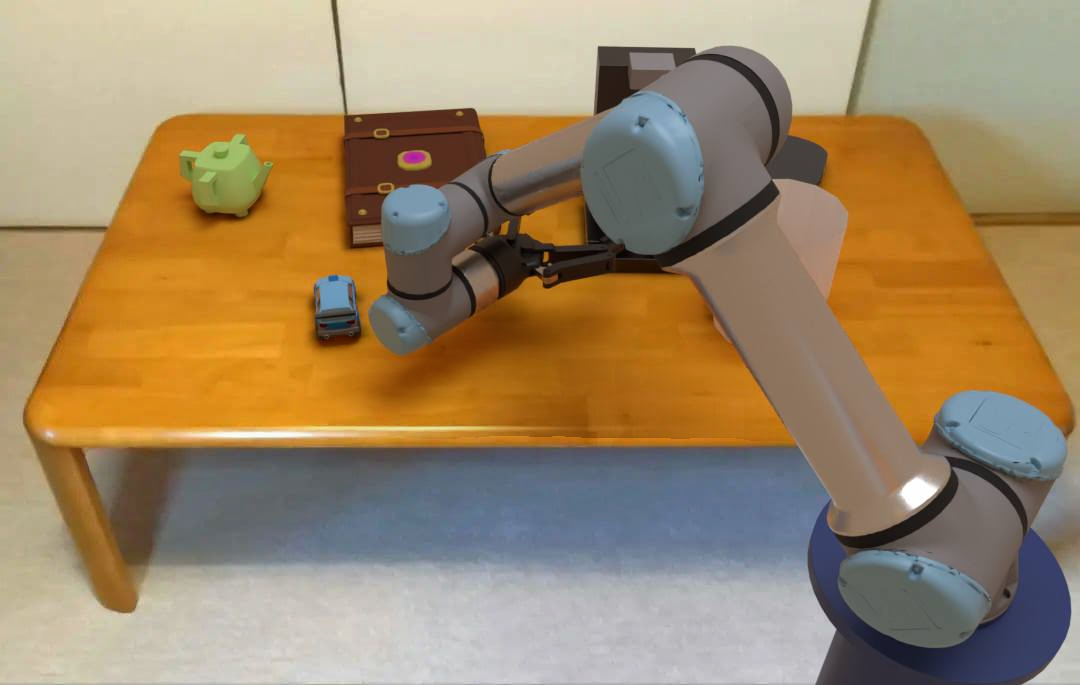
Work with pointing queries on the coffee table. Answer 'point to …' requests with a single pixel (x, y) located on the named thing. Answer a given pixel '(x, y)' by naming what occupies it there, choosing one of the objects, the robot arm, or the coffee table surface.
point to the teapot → (225, 176)
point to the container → (811, 230)
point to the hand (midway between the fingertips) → (595, 207)
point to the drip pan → (625, 258)
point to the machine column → (632, 71)
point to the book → (403, 159)
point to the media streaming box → (799, 161)
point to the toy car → (336, 307)
